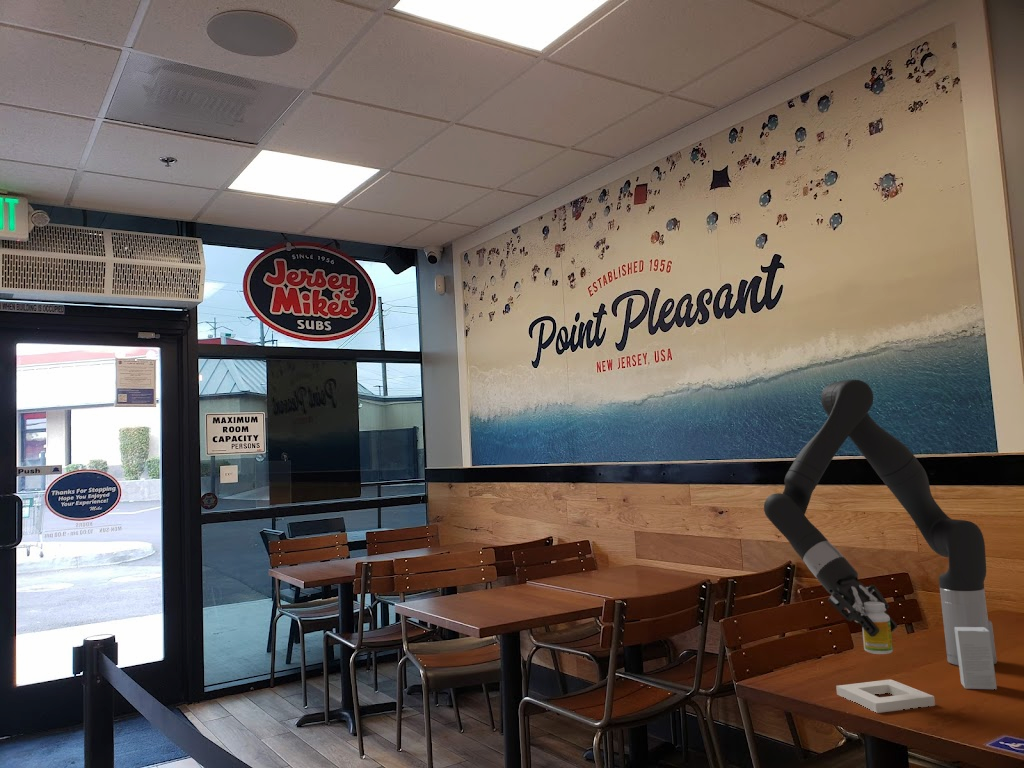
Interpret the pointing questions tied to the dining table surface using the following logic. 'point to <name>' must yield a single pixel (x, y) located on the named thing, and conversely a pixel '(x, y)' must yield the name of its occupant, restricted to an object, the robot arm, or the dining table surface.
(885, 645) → the supplement bottle
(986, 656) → the skincare box
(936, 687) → the dining table surface
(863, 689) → the hole plate
